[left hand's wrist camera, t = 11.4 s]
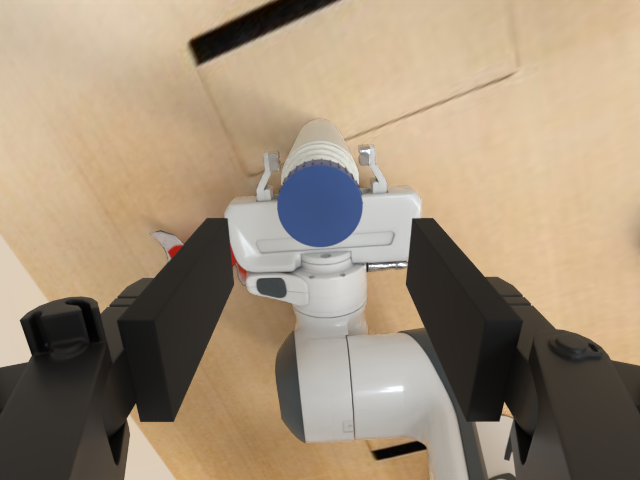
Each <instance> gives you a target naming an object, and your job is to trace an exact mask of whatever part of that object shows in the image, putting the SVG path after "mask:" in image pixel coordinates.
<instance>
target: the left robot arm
mask: <svg viewBox="0 0 640 480" xmlns="http://www.w3.org/2000/svg"><path fill="white" fill-rule="evenodd" d="M233 286H234V278H233V268H232V257H231V247H230V236H229V226H228V218H207V219H206V220H205V221H204V222H203V223H202V224H201V226H200V227H199V228H198V229H197V230H196V231H195V232H194V233H193V235H192V236H191V237H190V238H189V239H188V240H187V241H186V243H185V244H184V245H183V246H182V247H181V248H180V249H179V251H178V252H177V253H176V254H175V255H174V256H173V257H172V258H171V260H170V261H169V262H168V263H167V264H166V265H165V266H164V268H163V269H162V270H161V271H160V272H159V273H158V274H157V276H156V277H155V278H142V279H140V280H139V281H137V282H135V283H133V284H131V285H130V286H128V287H127V288H126V289H125V290H124V291H123V292H122V293H121V294H120V295H119V296H118V299H115V300H114V301H113V302H112V303H111V304H110V307H107V308H106V309H105V310H104V311H103V312H102V313H101V314H100V311H99V307H98V303H97V301H95V300H94V299H92V298H87V297H68V298H64V299H59V300H55V301H52V302H49V303H46V304H44V305H41V306H39V307H37V308H35V309H33V310H32V311H30V312H28V313H27V314H26V315H25V316H24V317H23V318H22V319H21V320H20V322H21V325H22V328H23V331H24V334H25V337H26V339H27V342H28V345H29V348H30V351H31V354H32V357H31V358H30V360H29V362H27V363H22V364H17V365H11V366H6V367H1V368H0V480H124V476H125V468H126V461H127V453H128V445H129V438H130V432H129V426H128V422H127V417H128V415H129V414H130V412H131V410H132V409H133V407H134V405H135V404H136V405H137V409H138V413H139V418H140V422H174V420H175V417H176V415H177V413H178V410H179V408H180V406H181V404H182V401H183V399H184V397H185V395H186V392H187V390H188V388H189V386H190V383H191V381H192V379H193V376H194V374H195V372H196V370H197V367H198V365H199V363H200V361H201V358H202V356H203V354H204V352H205V349H206V347H207V345H208V342H209V340H210V338H211V336H212V333H213V331H214V329H215V327H216V324H217V322H218V320H219V318H220V315H221V313H222V311H223V308H224V306H225V304H226V302H227V299H228V297H229V295H230V293H231V290H232V288H233ZM406 286H407V288H408V290H409V293H410V295H411V297H412V299H413V302H414V304H415V306H416V308H417V311H418V313H419V315H420V318H421V320H422V322H423V324H424V327H425V329H426V331H427V333H428V336H429V338H430V340H431V342H432V345H433V347H434V349H435V352H436V354H437V356H438V358H439V361H440V363H441V365H442V367H443V370H444V372H445V374H446V376H447V379H448V381H449V383H450V386H451V388H452V390H453V392H454V395H455V397H456V399H457V401H458V404H459V406H460V408H461V410H462V413H463V415H464V417H465V420H466V422H500V418H501V413H502V409H503V405H504V402H505V403H506V405H507V407H508V408H509V410H510V412H511V413H512V415H513V417H514V418H513V422H512V426H511V430H510V434H509V438H508V442H507V446H506V450H505V456H504V460H508V461H509V460H510V457H511V453H512V452H513V460H514V467H515V475H516V480H640V366H638V365H633V364H628V363H622V362H617V361H612V360H611V359H610V358H609V356H608V354H607V353H606V352H605V351H604V350H603V349H602V347H600V346H599V345H598V344H596V343H595V342H593V341H592V340H590V339H588V338H586V337H583V336H581V335H579V334H576V333H572V332H569V331H565V330H557V329H555V328H554V327H553V326H552V325H551V324H550V323H549V322H548V321H547V320H546V319H545V318H544V316H543V315H542V314H541V313H540V312H539V311H538V310H537V309H536V308H535V307H534V306H531V303H530V302H529V301H528V300H527V299H526V298H525V297H523V295H522V294H521V293H520V292H519V291H518V290H517V289H516V288H515V287H514V286H513V285H511V284H509V283H508V282H506V281H504V280H502V279H500V278H499V277H484V276H483V274H482V273H481V272H480V271H479V270H478V269H477V268H476V266H475V265H474V264H473V263H472V262H471V261H470V260H469V258H468V257H467V256H466V255H465V254H464V253H463V252H462V251H461V249H460V248H459V247H458V246H457V245H456V244H455V243H454V241H453V240H452V239H451V238H450V237H449V236H448V235H447V233H446V232H445V231H444V230H443V229H442V228H441V227H440V226H439V224H438V223H437V222H436V221H435V220H434V219H433V218H412V226H411V236H410V247H409V257H408V268H407V278H406Z"/></svg>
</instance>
